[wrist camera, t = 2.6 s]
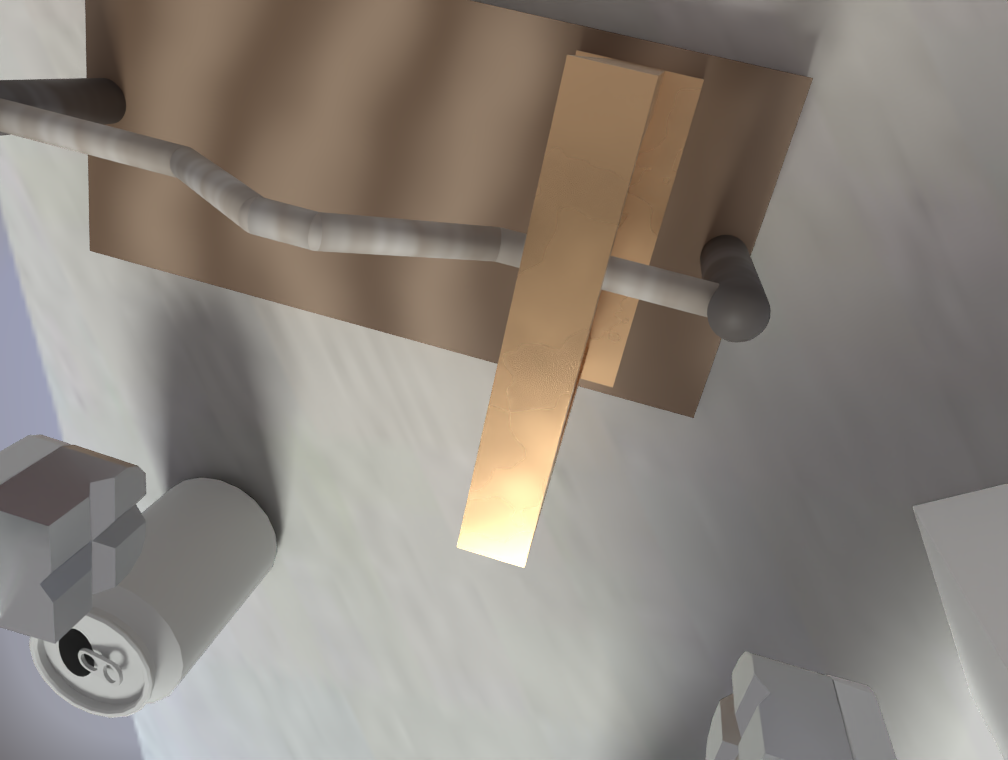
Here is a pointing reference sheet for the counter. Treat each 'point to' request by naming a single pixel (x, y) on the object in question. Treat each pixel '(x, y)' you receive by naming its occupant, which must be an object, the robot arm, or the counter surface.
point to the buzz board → (401, 167)
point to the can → (163, 601)
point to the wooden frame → (574, 280)
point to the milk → (974, 592)
